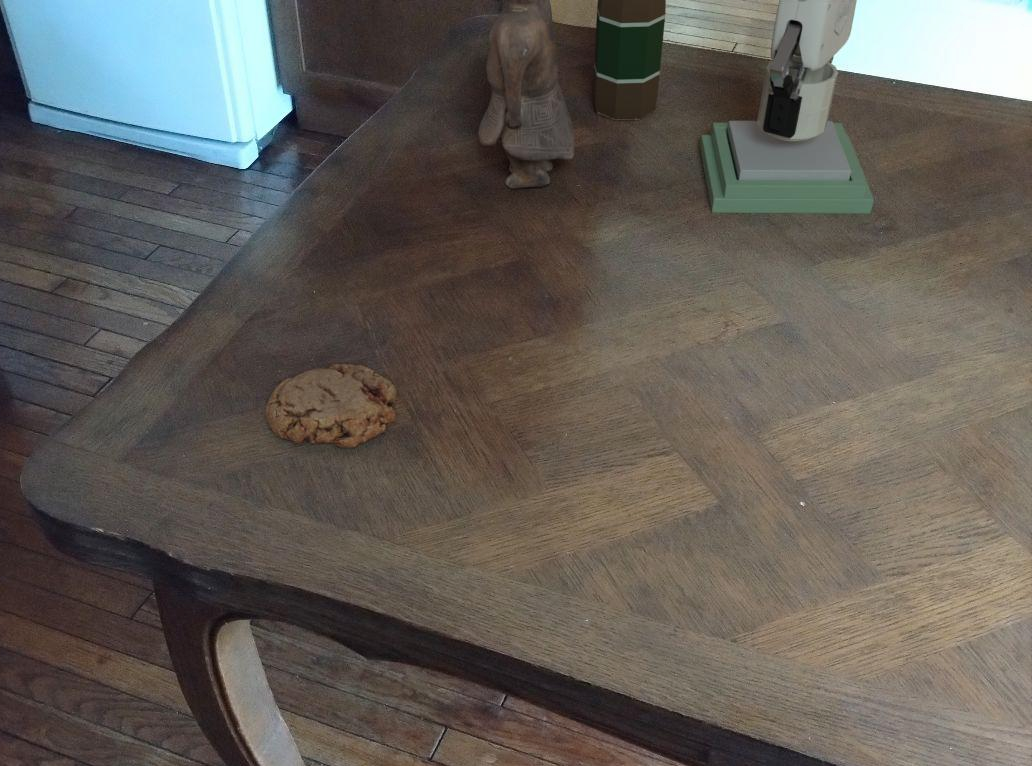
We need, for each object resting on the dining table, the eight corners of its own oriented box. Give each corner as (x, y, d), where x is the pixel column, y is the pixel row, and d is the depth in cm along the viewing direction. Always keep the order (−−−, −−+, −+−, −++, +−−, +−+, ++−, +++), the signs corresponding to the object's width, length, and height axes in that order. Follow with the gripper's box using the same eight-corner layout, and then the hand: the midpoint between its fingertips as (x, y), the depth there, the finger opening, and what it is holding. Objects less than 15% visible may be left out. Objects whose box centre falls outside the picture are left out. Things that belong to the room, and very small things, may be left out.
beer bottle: (610, 128, 122) (626, -109, 104) (579, 101, 126) (589, -129, 109) (669, 114, 124) (694, -120, 106) (636, 88, 129) (655, -140, 111)
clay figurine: (490, 147, 119) (485, -104, 101) (579, 152, 118) (590, -102, 99) (471, 206, 110) (461, -58, 92) (567, 211, 109) (576, -55, 91)
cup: (818, 113, 111) (831, 55, 106) (830, 144, 106) (843, 84, 102) (753, 113, 111) (762, 55, 107) (761, 144, 106) (771, 84, 102)
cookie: (254, 399, 89) (248, 371, 87) (373, 366, 92) (370, 337, 89) (289, 473, 83) (283, 444, 80) (415, 434, 85) (413, 405, 83)
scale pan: (829, 132, 114) (832, 120, 113) (848, 183, 107) (851, 170, 106) (726, 132, 115) (728, 120, 114) (738, 182, 107) (740, 170, 106)
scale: (845, 148, 117) (851, 122, 115) (870, 214, 107) (877, 186, 105) (699, 148, 118) (702, 122, 116) (711, 213, 108) (715, 185, 106)
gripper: (836, -38, 88) (796, 163, 101) (902, -96, 98) (858, 94, 111) (752, -54, 91) (723, 144, 104) (825, -108, 101) (790, 79, 114)
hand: (793, 117), depth 108 cm, fingers closed on cup, 7 cm apart
